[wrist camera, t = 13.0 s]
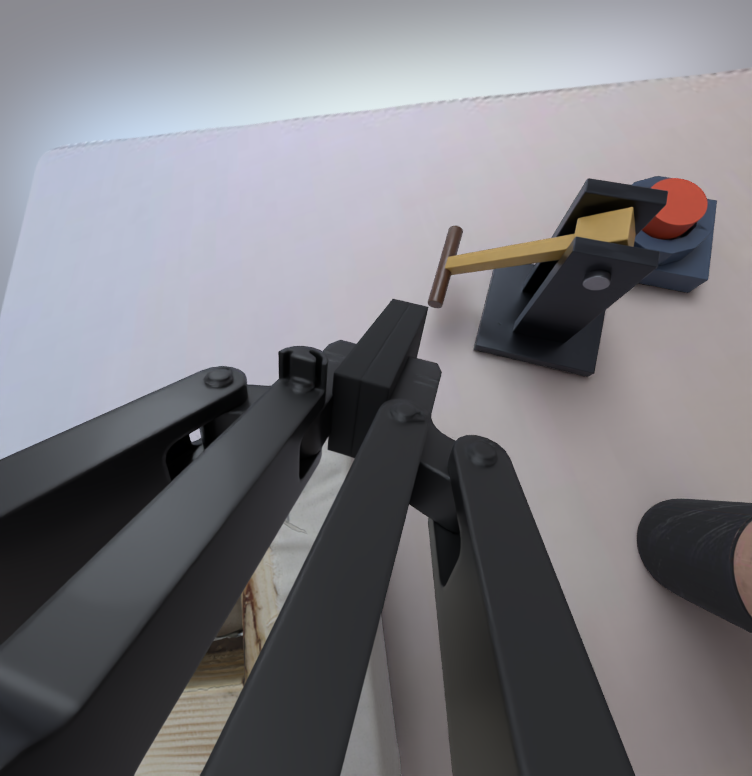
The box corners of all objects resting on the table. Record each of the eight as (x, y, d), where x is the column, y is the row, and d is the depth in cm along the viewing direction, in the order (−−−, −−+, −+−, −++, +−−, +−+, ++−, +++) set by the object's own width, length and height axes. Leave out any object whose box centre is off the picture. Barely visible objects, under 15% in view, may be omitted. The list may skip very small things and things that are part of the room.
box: (361, 432, 31) (28, 488, 33) (347, 421, 23) (-86, 495, 25) (408, 741, 26) (6, 792, 27) (409, 856, 18) (-147, 917, 20)
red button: (692, 199, 29) (710, 182, 27) (687, 244, 28) (705, 229, 27) (637, 190, 30) (650, 173, 28) (629, 234, 29) (643, 219, 27)
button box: (697, 217, 33) (736, 183, 29) (687, 293, 31) (727, 267, 27) (586, 199, 34) (608, 164, 30) (571, 270, 33) (593, 243, 29)
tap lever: (435, 312, 29) (420, 297, 27) (455, 241, 30) (443, 222, 29) (625, 300, 20) (621, 277, 19) (641, 201, 22) (639, 171, 20)
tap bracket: (473, 349, 32) (514, 272, 19) (494, 264, 33) (544, 142, 21) (587, 377, 30) (712, 312, 18) (603, 286, 32) (727, 169, 19)
